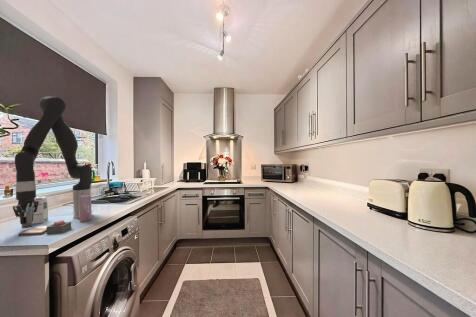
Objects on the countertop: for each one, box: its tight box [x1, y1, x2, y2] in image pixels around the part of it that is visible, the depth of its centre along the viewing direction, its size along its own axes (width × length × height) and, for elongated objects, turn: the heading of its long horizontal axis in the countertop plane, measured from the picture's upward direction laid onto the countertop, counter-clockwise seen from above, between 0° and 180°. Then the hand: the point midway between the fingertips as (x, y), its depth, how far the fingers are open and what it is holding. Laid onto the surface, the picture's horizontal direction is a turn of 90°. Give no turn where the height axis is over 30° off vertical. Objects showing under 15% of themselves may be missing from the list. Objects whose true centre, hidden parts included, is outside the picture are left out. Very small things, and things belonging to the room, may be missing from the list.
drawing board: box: [17, 225, 48, 237], centre depth 111 cm, size 12×10×1 cm
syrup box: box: [32, 196, 49, 224], centre depth 129 cm, size 6×6×14 cm
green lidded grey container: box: [21, 207, 33, 229], centre depth 114 cm, size 4×4×10 cm
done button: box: [53, 220, 65, 226], centre depth 111 cm, size 4×4×2 cm
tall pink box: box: [78, 195, 93, 223], centre depth 129 cm, size 6×6×15 cm
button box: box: [46, 221, 72, 235], centre depth 111 cm, size 7×7×4 cm
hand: (26, 222), depth 114 cm, fingers closed on green lidded grey container, 3 cm apart
